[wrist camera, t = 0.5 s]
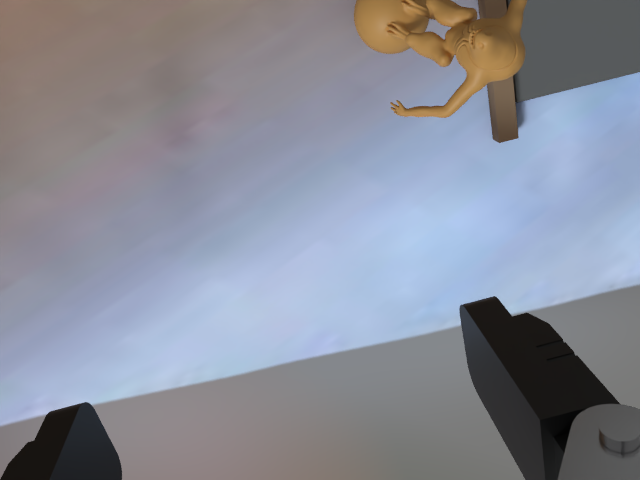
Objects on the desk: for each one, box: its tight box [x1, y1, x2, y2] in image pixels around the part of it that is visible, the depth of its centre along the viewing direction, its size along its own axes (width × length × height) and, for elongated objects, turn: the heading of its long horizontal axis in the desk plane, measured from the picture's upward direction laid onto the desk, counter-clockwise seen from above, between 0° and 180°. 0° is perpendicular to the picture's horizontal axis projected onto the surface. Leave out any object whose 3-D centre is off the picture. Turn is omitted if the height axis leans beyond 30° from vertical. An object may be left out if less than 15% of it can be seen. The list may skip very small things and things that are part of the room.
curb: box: [478, 0, 518, 143], centre depth 32 cm, size 16×1×1 cm, turn 13°
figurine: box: [354, 0, 527, 118], centre depth 27 cm, size 8×6×12 cm
